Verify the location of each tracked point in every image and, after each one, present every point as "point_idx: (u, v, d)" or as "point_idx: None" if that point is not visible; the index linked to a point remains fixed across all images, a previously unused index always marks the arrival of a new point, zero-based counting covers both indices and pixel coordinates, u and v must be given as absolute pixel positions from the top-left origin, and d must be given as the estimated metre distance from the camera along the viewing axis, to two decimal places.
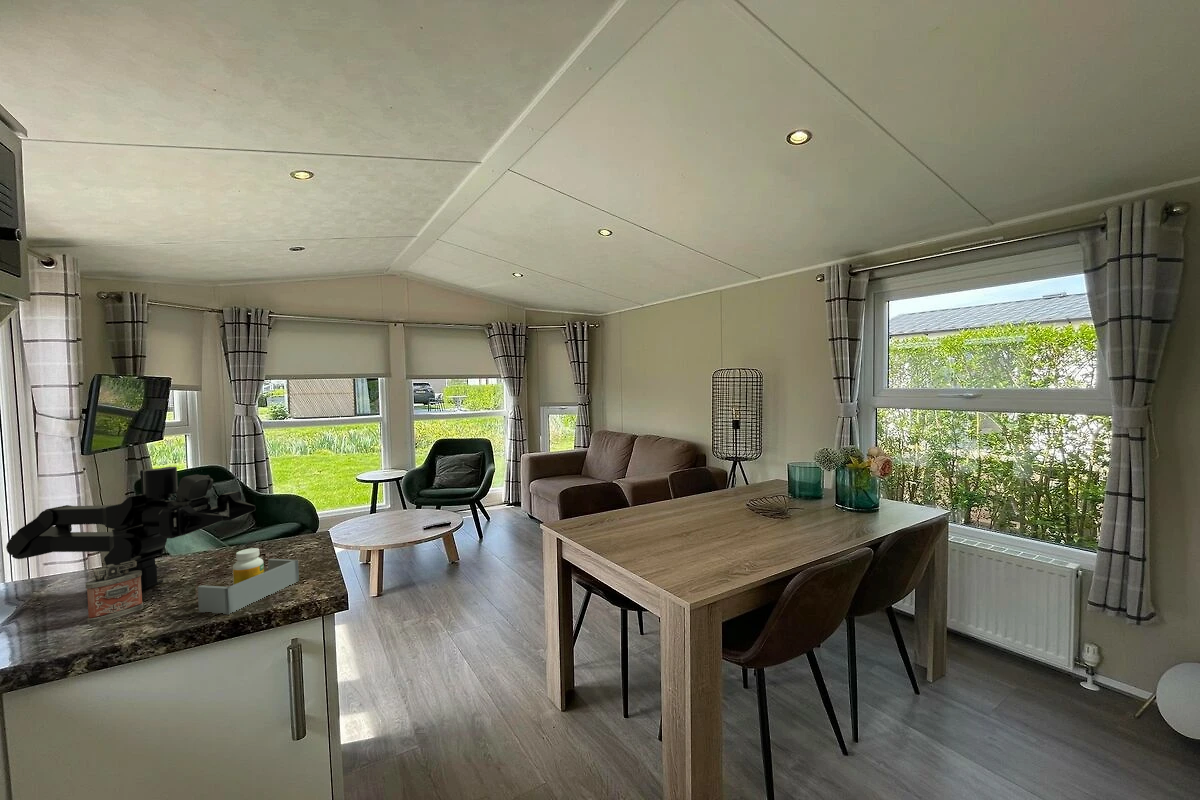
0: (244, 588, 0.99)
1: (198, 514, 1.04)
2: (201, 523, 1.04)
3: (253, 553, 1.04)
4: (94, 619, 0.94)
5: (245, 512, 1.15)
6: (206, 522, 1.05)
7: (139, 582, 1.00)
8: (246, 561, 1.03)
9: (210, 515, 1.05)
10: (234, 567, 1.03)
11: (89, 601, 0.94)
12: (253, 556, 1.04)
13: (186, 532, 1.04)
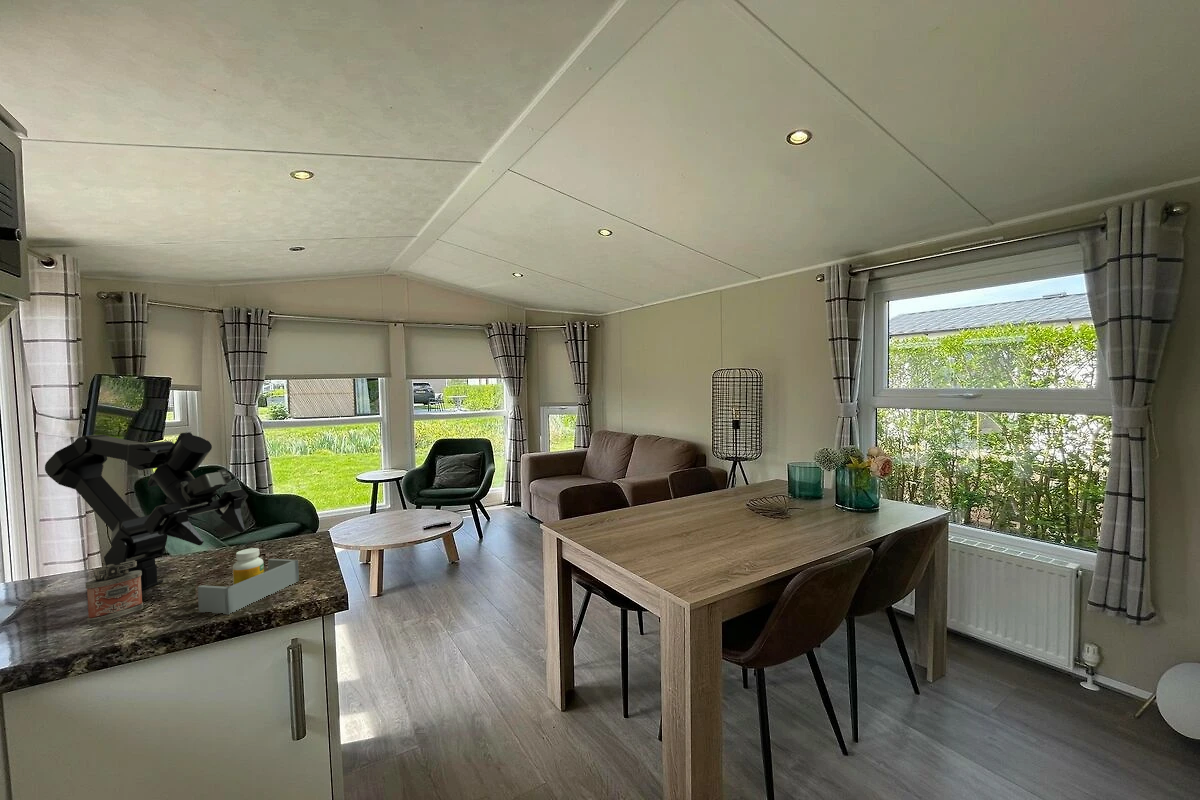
0: (244, 588, 0.99)
1: (186, 527, 1.01)
2: (183, 535, 1.01)
3: (253, 553, 1.04)
4: (94, 619, 0.94)
5: (234, 526, 1.11)
6: (187, 538, 1.01)
7: (139, 582, 1.00)
8: (246, 561, 1.03)
9: (194, 535, 1.01)
10: (234, 567, 1.03)
11: (89, 601, 0.94)
12: (253, 556, 1.04)
13: (166, 533, 1.01)
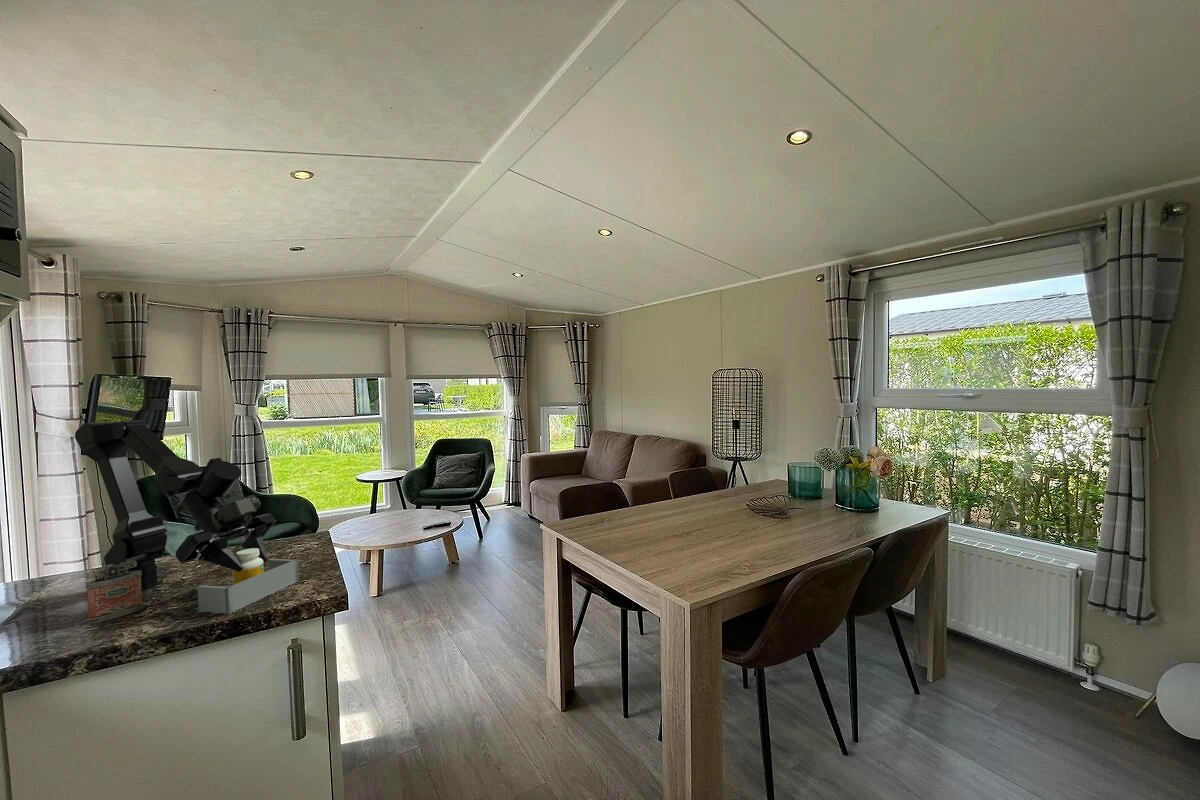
0: (244, 588, 0.99)
1: (225, 553, 1.01)
2: (222, 561, 1.01)
3: (253, 553, 1.04)
4: (94, 619, 0.94)
5: None
6: (226, 564, 1.01)
7: (139, 582, 1.00)
8: (246, 561, 1.03)
9: (234, 561, 1.01)
10: None
11: (89, 601, 0.94)
12: (253, 556, 1.04)
13: (206, 559, 1.01)
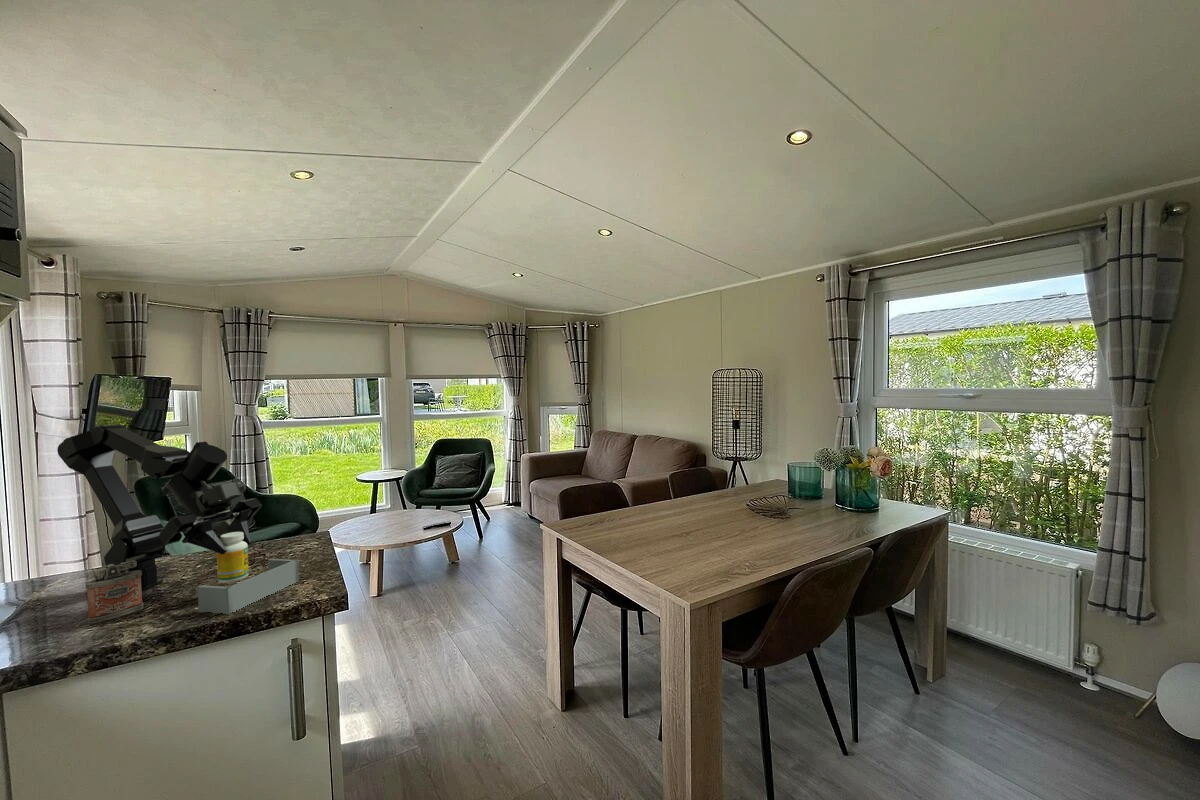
0: (244, 588, 0.99)
1: (209, 536, 1.02)
2: (206, 544, 1.02)
3: (237, 536, 1.05)
4: (94, 619, 0.94)
5: None
6: (210, 546, 1.02)
7: (139, 582, 1.00)
8: (230, 544, 1.04)
9: (217, 544, 1.02)
10: None
11: (89, 601, 0.94)
12: (237, 539, 1.05)
13: (190, 542, 1.02)
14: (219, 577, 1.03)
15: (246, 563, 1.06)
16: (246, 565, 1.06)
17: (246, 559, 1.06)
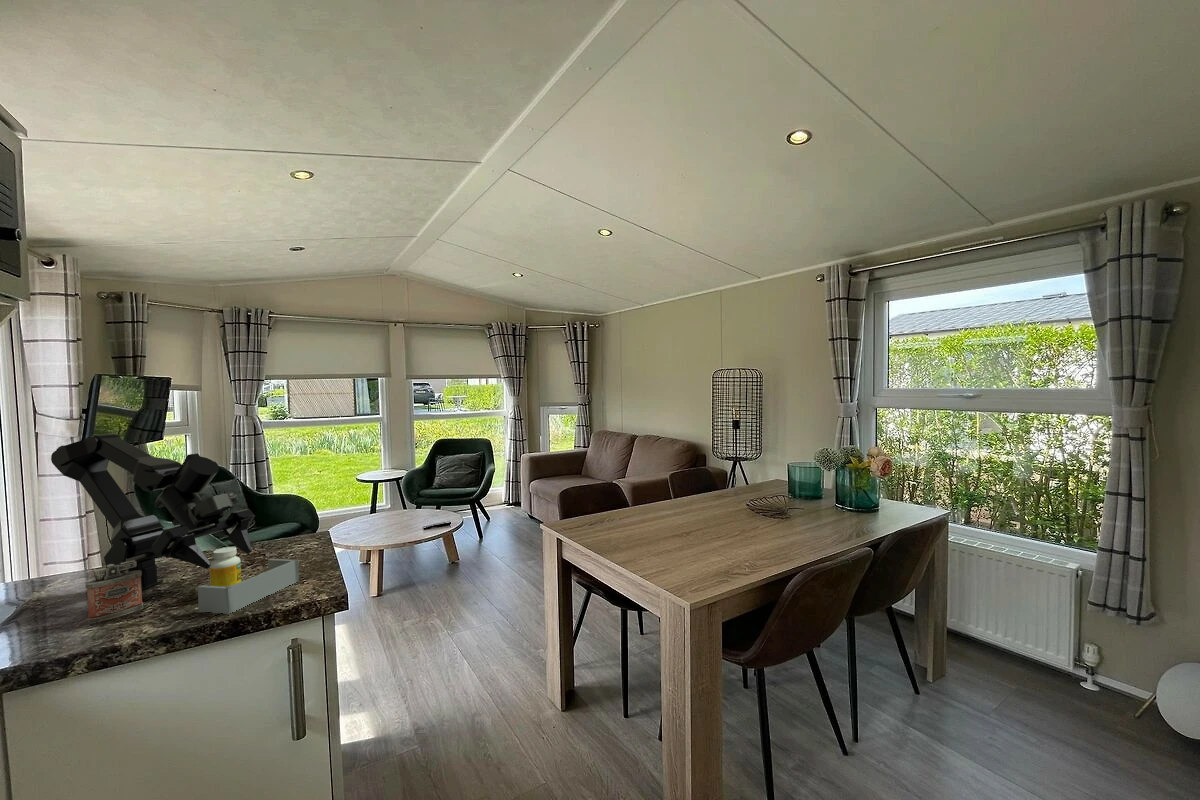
0: (244, 588, 0.99)
1: (193, 550, 1.00)
2: (190, 558, 1.01)
3: (230, 552, 1.05)
4: (94, 619, 0.94)
5: (240, 548, 1.11)
6: (194, 561, 1.01)
7: (139, 582, 1.00)
8: (223, 559, 1.05)
9: (201, 558, 1.01)
10: (211, 565, 1.04)
11: (89, 601, 0.94)
12: (230, 554, 1.05)
13: (174, 556, 1.00)
14: None
15: (239, 578, 1.07)
16: (239, 580, 1.07)
17: (239, 574, 1.07)
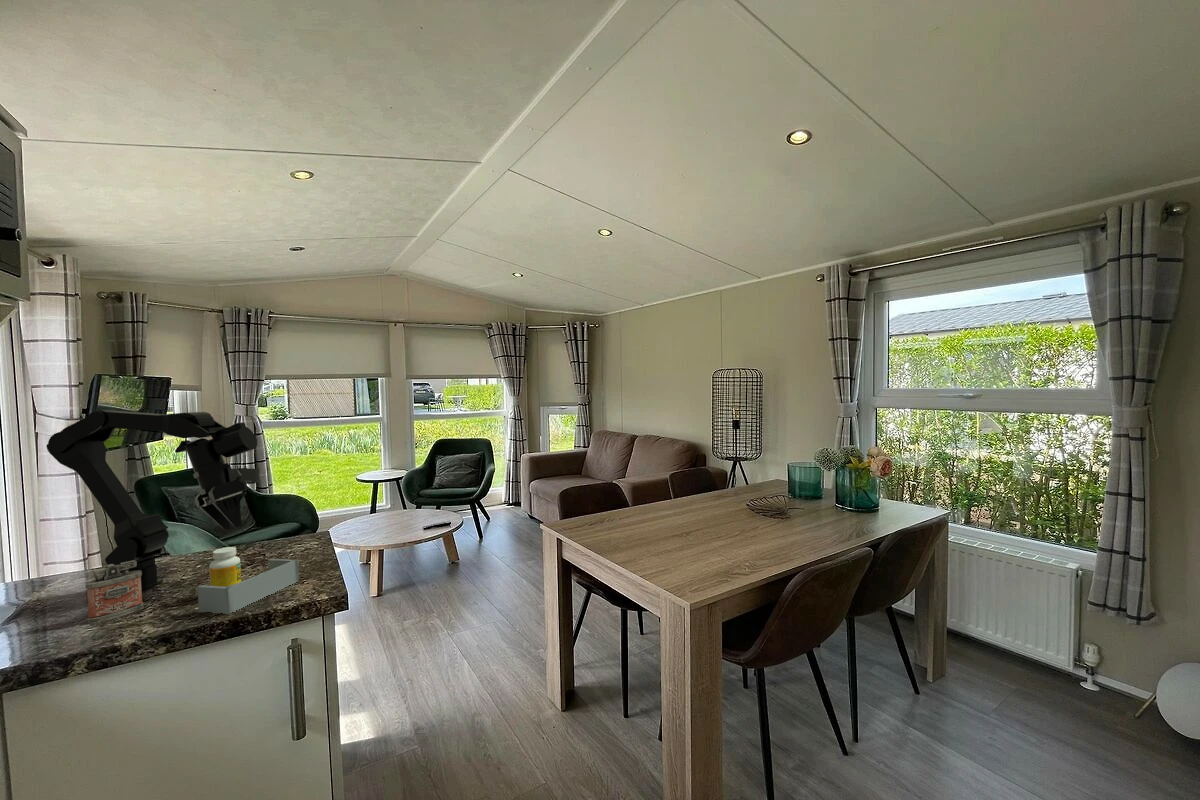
0: (244, 588, 0.99)
1: (239, 507, 1.11)
2: (229, 512, 1.09)
3: (230, 552, 1.05)
4: (94, 619, 0.94)
5: (219, 521, 1.16)
6: (231, 516, 1.10)
7: (139, 582, 1.00)
8: (223, 559, 1.05)
9: (239, 516, 1.11)
10: (211, 566, 1.04)
11: (89, 601, 0.94)
12: (230, 555, 1.05)
13: (218, 504, 1.07)
14: None
15: (239, 578, 1.07)
16: (239, 580, 1.07)
17: (239, 574, 1.07)
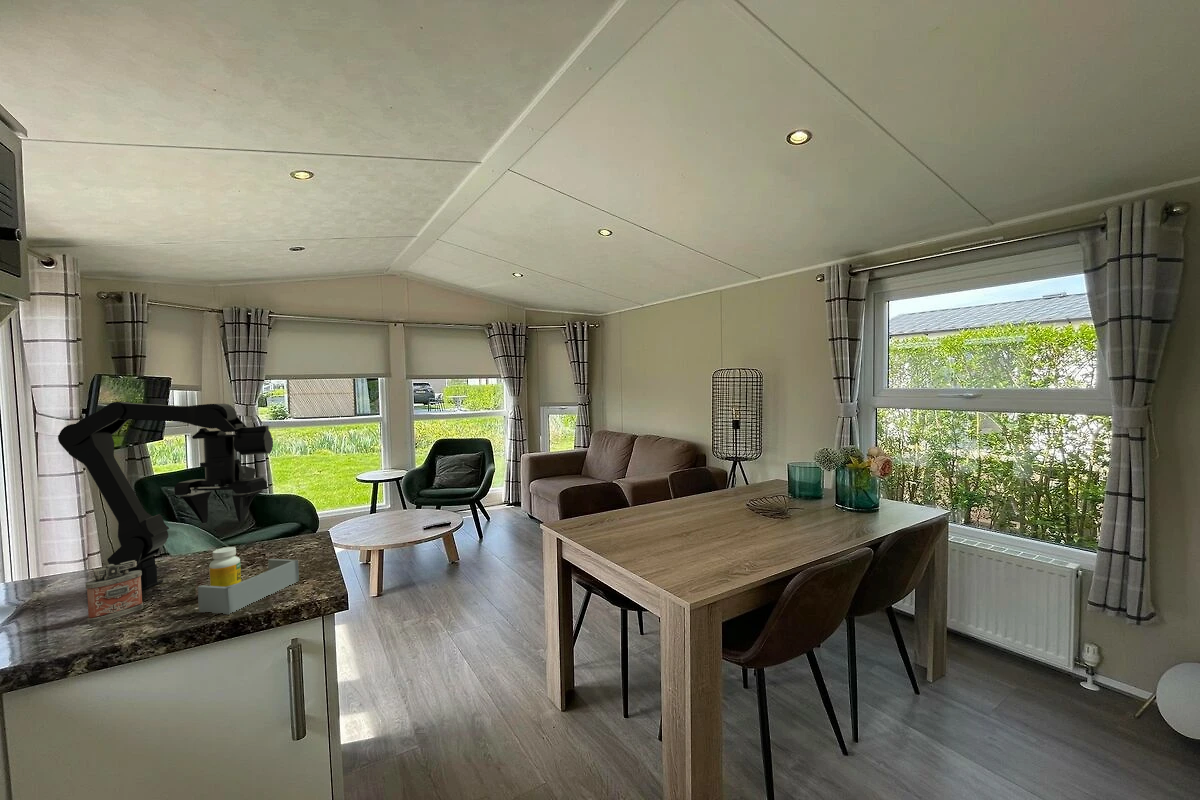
0: (244, 588, 0.99)
1: (249, 503, 1.17)
2: (242, 507, 1.15)
3: (229, 552, 1.05)
4: (94, 619, 0.94)
5: (200, 513, 1.16)
6: (242, 511, 1.16)
7: (139, 582, 1.00)
8: (223, 559, 1.05)
9: (246, 512, 1.17)
10: (210, 566, 1.04)
11: (89, 601, 0.94)
12: (229, 554, 1.05)
13: (240, 498, 1.14)
14: None
15: (239, 578, 1.07)
16: (239, 580, 1.07)
17: (239, 574, 1.07)
